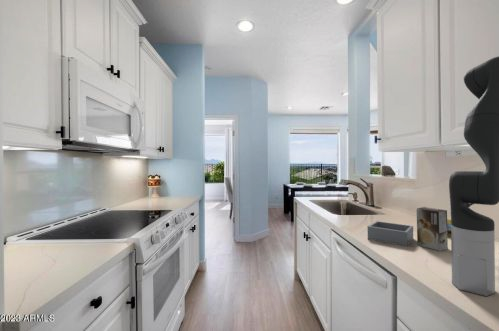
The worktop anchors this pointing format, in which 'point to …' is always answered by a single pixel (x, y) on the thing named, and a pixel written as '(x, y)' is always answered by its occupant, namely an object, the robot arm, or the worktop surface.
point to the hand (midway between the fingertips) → (455, 209)
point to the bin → (390, 233)
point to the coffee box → (432, 228)
